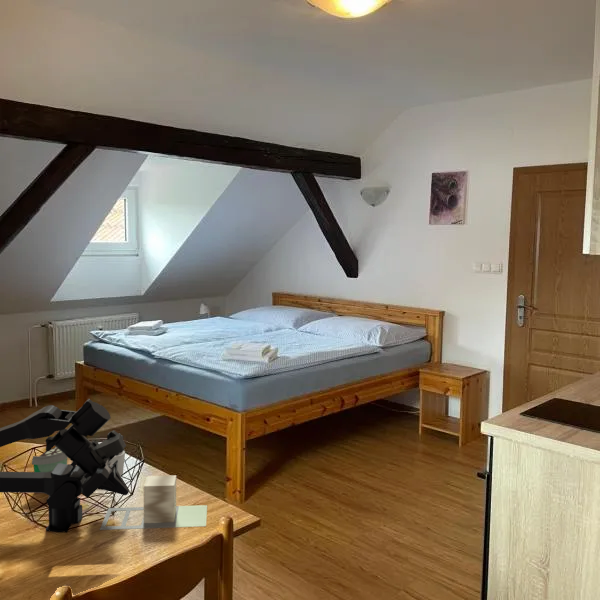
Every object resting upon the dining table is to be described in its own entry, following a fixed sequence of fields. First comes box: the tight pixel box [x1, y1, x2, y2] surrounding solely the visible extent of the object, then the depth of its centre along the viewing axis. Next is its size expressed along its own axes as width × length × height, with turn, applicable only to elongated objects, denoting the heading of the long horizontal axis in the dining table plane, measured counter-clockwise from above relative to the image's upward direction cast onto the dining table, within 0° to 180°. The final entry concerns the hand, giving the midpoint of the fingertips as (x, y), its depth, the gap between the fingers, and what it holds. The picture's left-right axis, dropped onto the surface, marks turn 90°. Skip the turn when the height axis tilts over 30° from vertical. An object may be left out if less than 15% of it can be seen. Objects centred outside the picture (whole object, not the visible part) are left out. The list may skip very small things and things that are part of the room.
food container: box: [31, 446, 69, 472], centre depth 165 cm, size 12×6×10 cm, turn 168°
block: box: [143, 474, 177, 523], centre depth 145 cm, size 7×6×9 cm
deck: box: [99, 504, 208, 531], centre depth 146 cm, size 24×11×2 cm, turn 97°
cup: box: [109, 450, 126, 476], centre depth 171 cm, size 11×8×8 cm
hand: (127, 493), depth 144 cm, fingers closed
